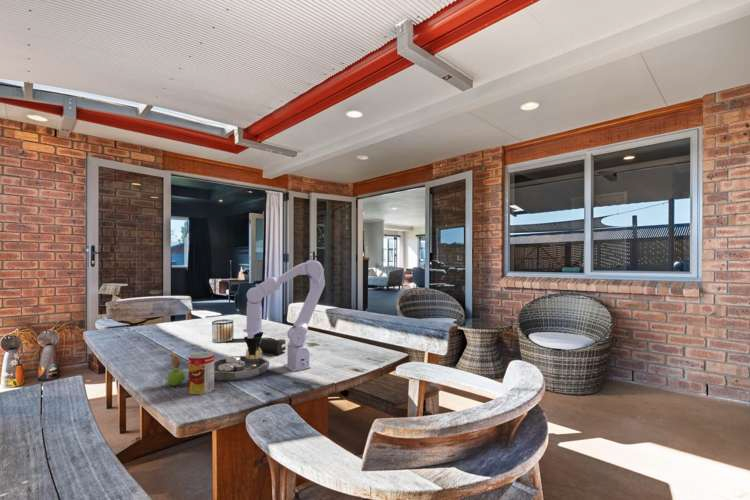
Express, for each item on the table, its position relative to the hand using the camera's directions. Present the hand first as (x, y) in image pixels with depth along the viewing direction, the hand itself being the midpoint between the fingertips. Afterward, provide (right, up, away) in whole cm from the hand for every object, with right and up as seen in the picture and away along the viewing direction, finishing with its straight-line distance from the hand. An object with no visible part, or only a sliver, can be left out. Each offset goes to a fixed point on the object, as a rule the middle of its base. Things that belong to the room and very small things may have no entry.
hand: (253, 352), depth 142 cm
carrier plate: (-6, -7, -1) cm, 9 cm away
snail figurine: (-22, -7, -16) cm, 28 cm away
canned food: (-11, -7, -21) cm, 24 cm away
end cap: (0, -8, +25) cm, 26 cm away
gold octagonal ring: (0, -2, 0) cm, 2 cm away
